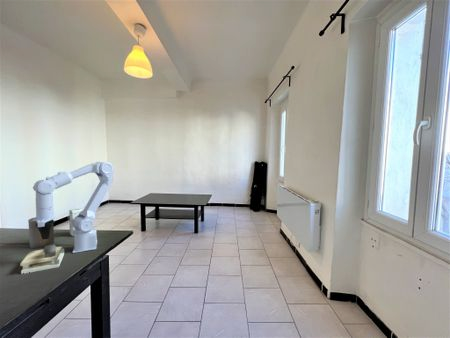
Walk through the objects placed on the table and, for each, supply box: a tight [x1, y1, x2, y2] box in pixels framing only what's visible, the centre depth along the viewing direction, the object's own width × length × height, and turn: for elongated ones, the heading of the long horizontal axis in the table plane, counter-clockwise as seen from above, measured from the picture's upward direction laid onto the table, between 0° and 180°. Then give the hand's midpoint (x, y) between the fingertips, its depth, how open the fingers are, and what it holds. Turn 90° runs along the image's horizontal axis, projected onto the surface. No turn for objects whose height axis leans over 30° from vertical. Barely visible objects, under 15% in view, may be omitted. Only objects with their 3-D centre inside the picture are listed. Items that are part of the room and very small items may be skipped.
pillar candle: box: [27, 216, 55, 249], centre depth 110 cm, size 10×10×15 cm
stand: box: [20, 248, 65, 275], centre depth 91 cm, size 12×13×3 cm
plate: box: [19, 243, 64, 267], centre depth 90 cm, size 11×12×5 cm
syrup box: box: [68, 207, 84, 237], centre depth 124 cm, size 6×6×14 cm
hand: (45, 238), depth 93 cm, fingers closed
